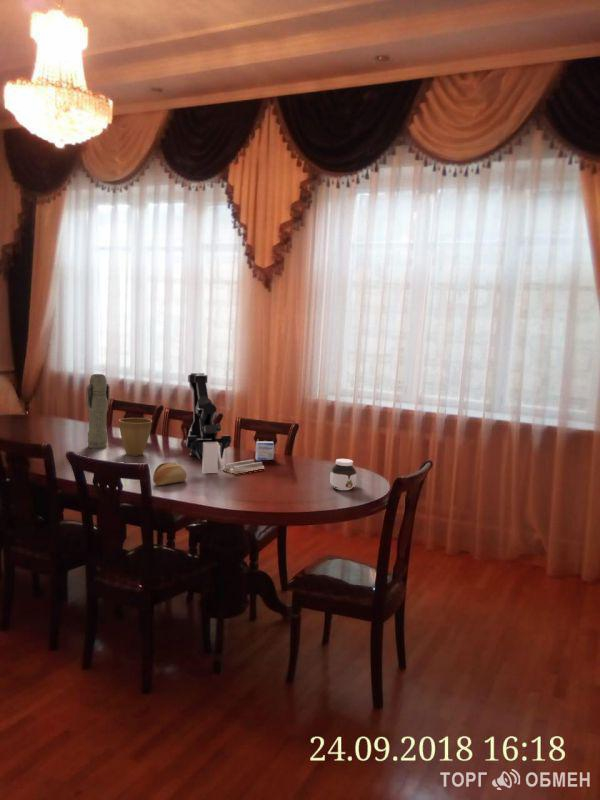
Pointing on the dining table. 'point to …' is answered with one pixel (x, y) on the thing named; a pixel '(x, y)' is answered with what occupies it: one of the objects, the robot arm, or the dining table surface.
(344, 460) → the spread jar
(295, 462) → the dining table surface
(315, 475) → the dining table surface
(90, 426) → the stone statue
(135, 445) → the plant pot
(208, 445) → the door panel
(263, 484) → the dining table surface
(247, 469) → the track base
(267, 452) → the medicine box
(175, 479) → the bread roll
